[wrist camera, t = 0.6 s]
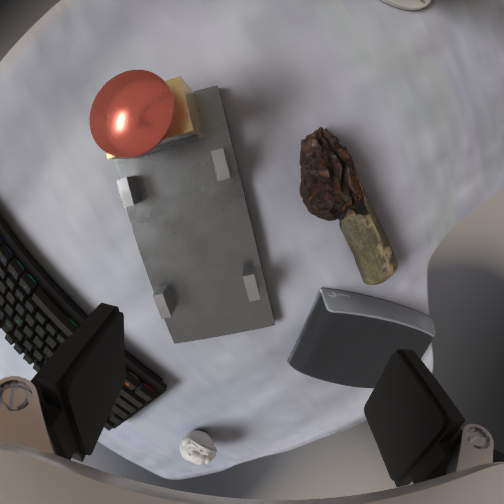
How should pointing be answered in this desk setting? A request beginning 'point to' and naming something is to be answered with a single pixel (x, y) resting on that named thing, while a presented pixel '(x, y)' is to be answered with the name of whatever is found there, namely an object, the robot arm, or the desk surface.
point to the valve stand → (184, 203)
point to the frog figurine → (198, 447)
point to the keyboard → (56, 324)
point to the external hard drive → (357, 337)
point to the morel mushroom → (344, 203)
